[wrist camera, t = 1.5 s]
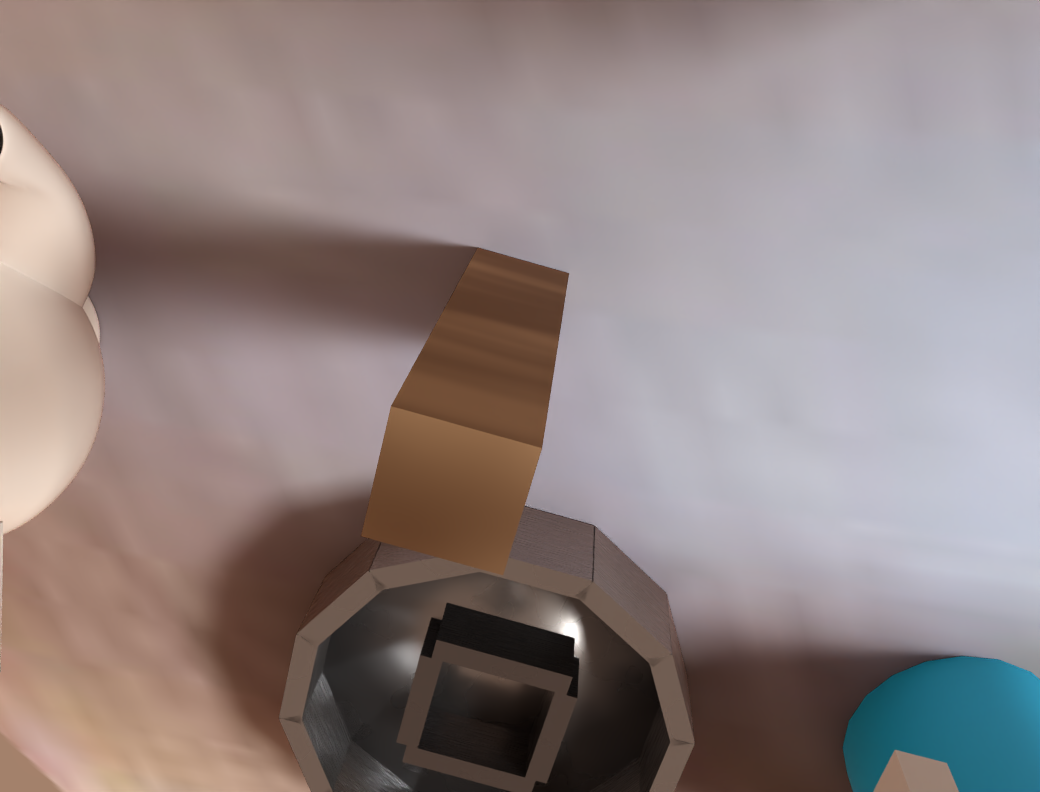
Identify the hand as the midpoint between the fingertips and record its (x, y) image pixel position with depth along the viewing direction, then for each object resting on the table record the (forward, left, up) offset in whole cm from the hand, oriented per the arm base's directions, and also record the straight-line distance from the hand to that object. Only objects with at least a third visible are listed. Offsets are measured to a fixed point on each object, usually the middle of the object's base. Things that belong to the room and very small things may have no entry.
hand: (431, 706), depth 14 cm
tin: (+14, +2, -19) cm, 23 cm away
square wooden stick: (0, -1, -19) cm, 19 cm away
